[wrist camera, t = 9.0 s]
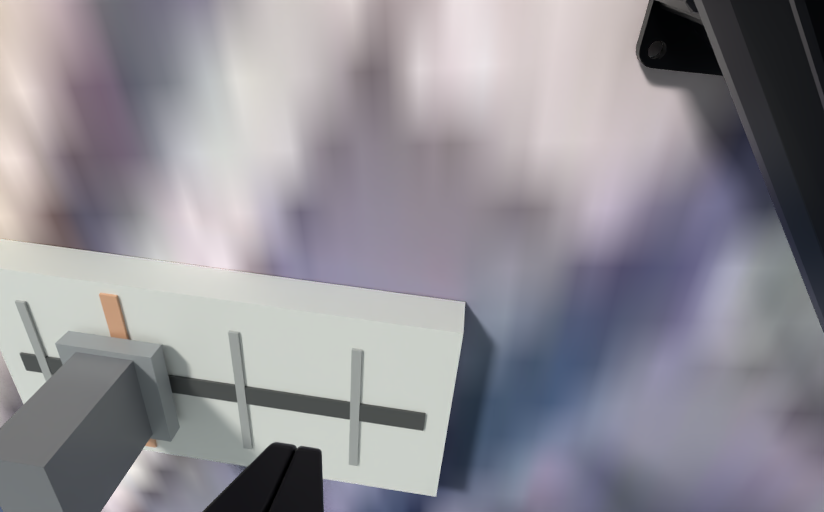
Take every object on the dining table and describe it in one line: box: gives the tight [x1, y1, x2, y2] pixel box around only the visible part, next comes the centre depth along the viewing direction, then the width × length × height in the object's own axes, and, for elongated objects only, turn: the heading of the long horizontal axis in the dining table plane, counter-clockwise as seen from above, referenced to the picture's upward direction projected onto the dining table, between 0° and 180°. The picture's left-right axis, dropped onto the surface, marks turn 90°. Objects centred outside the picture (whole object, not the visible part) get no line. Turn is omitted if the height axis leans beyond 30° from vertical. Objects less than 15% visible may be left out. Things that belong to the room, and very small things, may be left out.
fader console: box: [0, 239, 465, 497], centre depth 24 cm, size 20×10×2 cm, turn 85°
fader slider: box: [0, 331, 180, 512], centre depth 21 cm, size 4×5×6 cm
